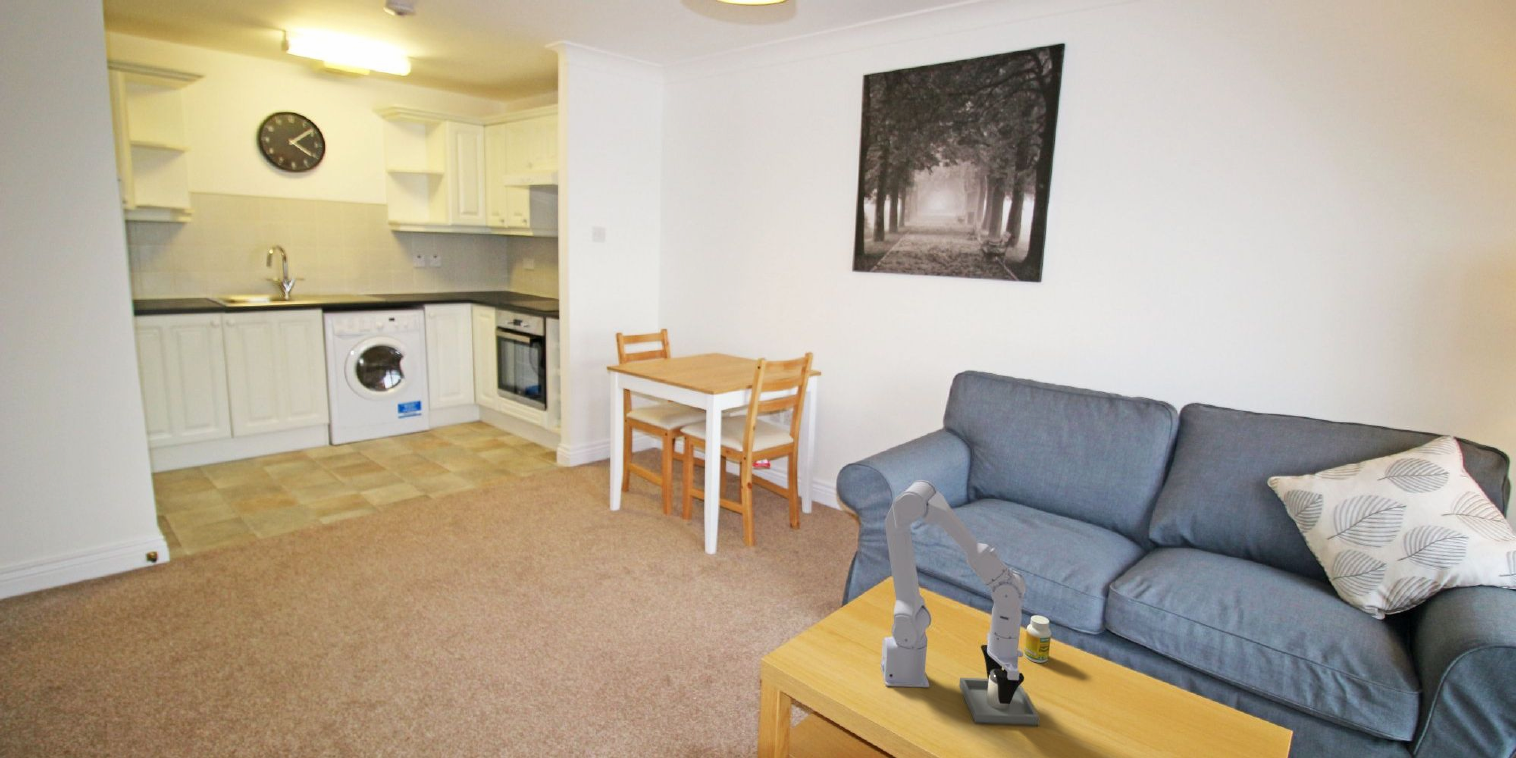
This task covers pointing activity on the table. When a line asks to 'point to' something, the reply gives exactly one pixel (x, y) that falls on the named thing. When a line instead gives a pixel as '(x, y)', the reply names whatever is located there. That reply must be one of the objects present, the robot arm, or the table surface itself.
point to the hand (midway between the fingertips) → (998, 691)
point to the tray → (985, 714)
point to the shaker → (994, 693)
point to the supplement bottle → (1038, 639)
